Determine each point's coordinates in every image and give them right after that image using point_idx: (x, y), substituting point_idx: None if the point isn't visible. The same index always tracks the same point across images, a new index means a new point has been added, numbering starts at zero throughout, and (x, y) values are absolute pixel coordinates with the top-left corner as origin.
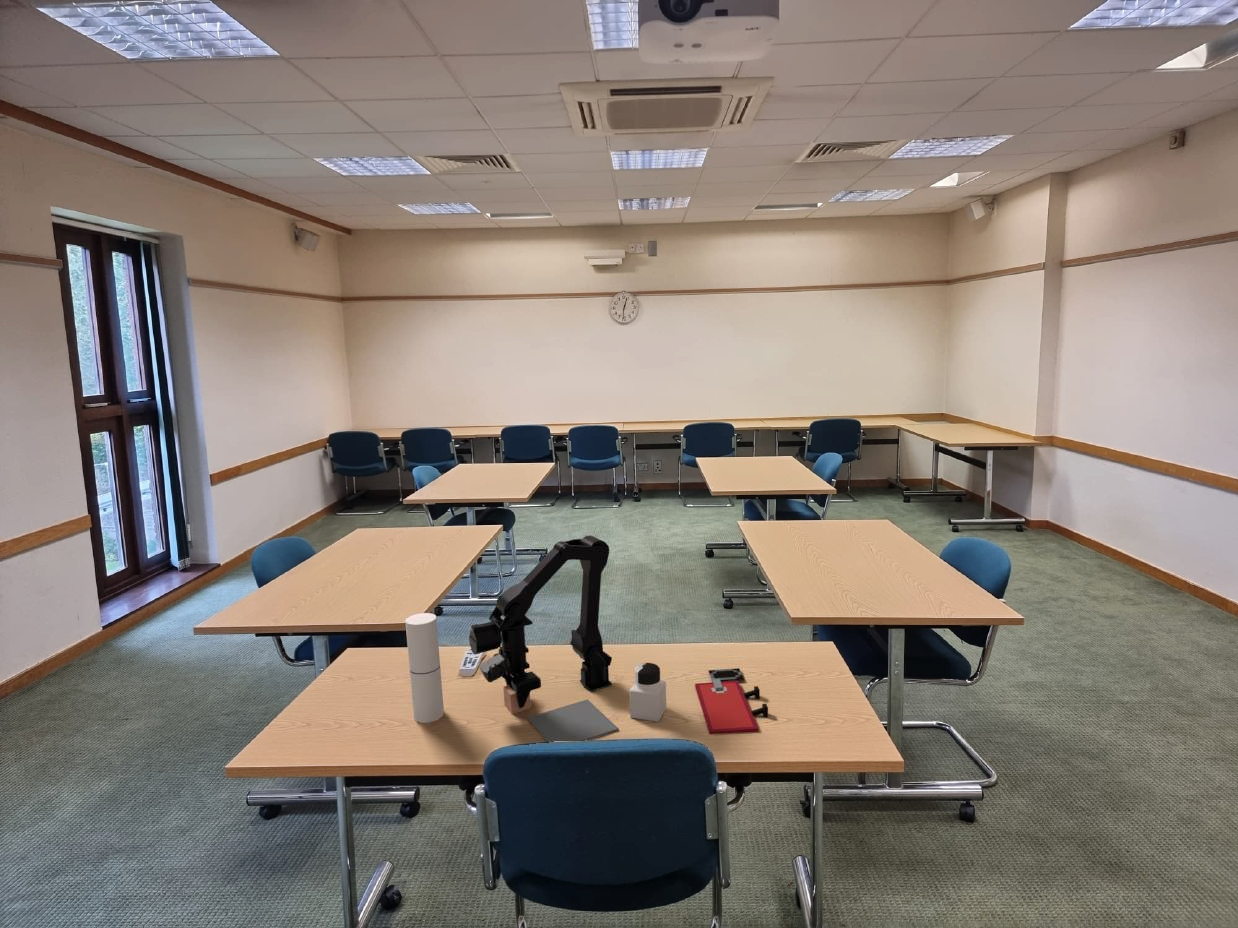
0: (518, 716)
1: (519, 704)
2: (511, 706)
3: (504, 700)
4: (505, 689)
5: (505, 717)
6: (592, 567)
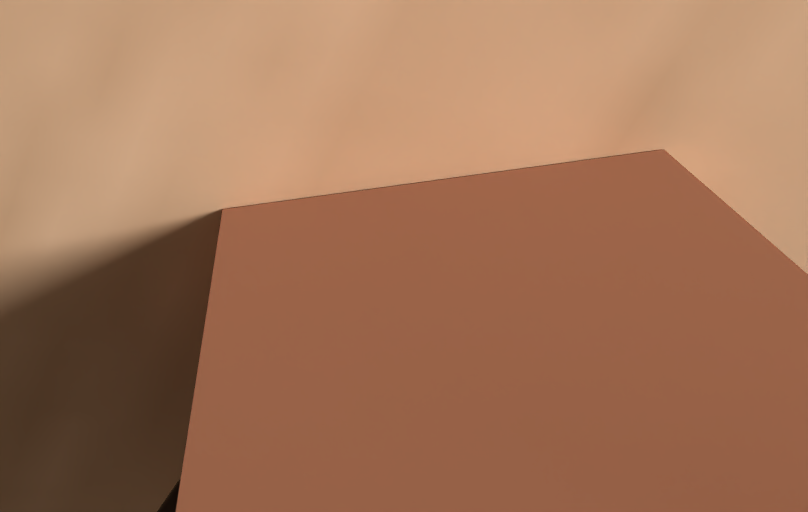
0: (60, 309)
1: (170, 500)
2: (206, 315)
3: (701, 203)
4: (779, 505)
5: (102, 45)
6: None
